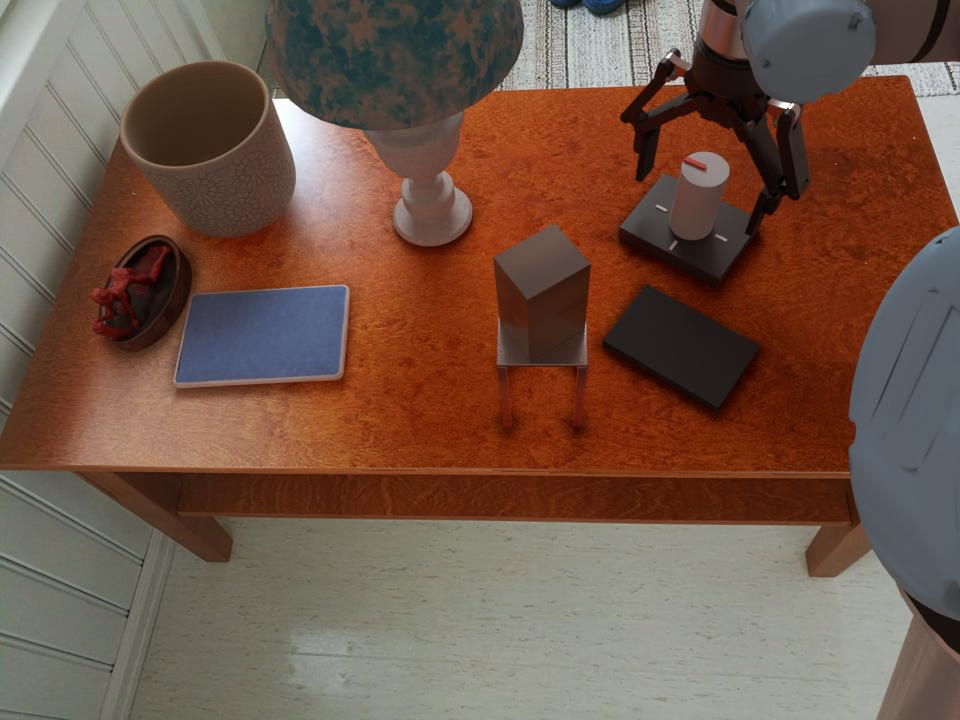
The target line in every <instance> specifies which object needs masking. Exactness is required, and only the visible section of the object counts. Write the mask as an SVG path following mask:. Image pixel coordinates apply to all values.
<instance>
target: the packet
mask: <svg viewBox="0 0 960 720" xmlns="http://www.w3.org/2000/svg"><path fill="white" fill-rule="evenodd" d="M492 260H493V271H494V280H495V288H496V289H495V290H496V291H495V292H496V300H497V308H498V312H499V320H500V323H501V325H502V326H503V327H504V329H505V330H506V331H507V333H508V334H509V335H510V337H511V338H512V339H513V341H514V342H515V343H516V345H517V346H518V347H519V349H520V350H521V351H522V353H523V354H524V355H525V356H526V358H527V359H528V360H529V362H530V361H532V360H533V359H535V358H537V357H539V356H540V355H542V354H544V353H545V352H547V351H549V350H551V349H552V348H554V347H556V346H557V345H559V344H561V343H562V342H564V341H566V340H568V339H569V338H571V337H573V336H574V335H576V334H578V333H579V332H581V331H583V330H585V324H586V325H587V314H588V313H587V311H588V303H589V302H588V301H589V291H590V281H591V280H590V279H591V272H592V271H591V269H592V263H591V262H590V261H589V260H588V259H587V258H586V256H585V255H584V254H583V253H582V252H581V250H580V249H578V247H577V246H576V245H575V244H574V243H573V241H572V240H571V239H570V238H569V237H568V236H567V235H566V234H565V232H564V231H563V230H562V229H561V227H559V225H558V224H557V223H556V222H554V223H553V224H550V225H549V226H547V227H545V228H543V229H541V230H540V231H538V232H535V233H534V234H532V235H530V236H529V237H526V238H525V239H523V240H521V241H519V242H518V243H515V244H514V245H512V246H511V247H508V248H506V249H505V250H503V251H501V252H499V253H498V254H496V255H494V256H493V257H492Z"/></svg>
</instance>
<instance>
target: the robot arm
mask: <svg viewBox="0 0 960 720" xmlns="http://www.w3.org/2000/svg"><path fill="white" fill-rule="evenodd" d="M930 63H933V64H934V63H960V0H703V3H702V9H701V12H700V17H699V21H698V31H697V33H696V37H695V41H694V46H693V51H692V56H691V60H690V62H688V61H687V60H684V59H682V52H681V50H680V49H679V48H677V47H672V48H671V49H669V51H668V52H667V53H666V54H665V55H664V56H663V58H662V59H661V60H660V61H659V62H658V63H657V65H656V67H655V71H654V75H653V78H651V80H650V82H649V83H647V85H646V86H644V88H643V89H642V90H641V91H640V93H639V94H637V96H635V98H634V99H633V100H632V102H630V104H629V105H627V107H626V108H625V109H624V110H623V111H622V113H620V115H619V120H620V121H621V122H622V123H623V124H626V125H627V124H630V125H631V126H632V127H633V131H634V138H633V145H632V150H633V152H634V153H635V154H637V155H638V159H637V166H636V171H635V172H636V173H635V179H634V180H635V181H636V182H638V183H642V182H643V181H644V180H645V179H646V178H647V176H649V174H650V173H651V172H652V170H653V169H654V166H655V162H656V155H657V151H658V145H659V140H660V134H661V129H662V126H663V125H665V124H668V123H670V122H671V121H674V120H676V119H677V118H680V117H682V118H684V117H686V116H688V115H691V114H692V113H695V112H697V113H698V114H699V115H700V118H701V119H703V120H706V121H708V122H714V123H716V124H717V125H718V126H720V127H721V128H724V129H725V130H729V131H730V130H731V129H732V131H733V132H734V134H735V136H736V138H737V140H738V142H739V143H743V144H744V146H745V148H746V150H747V151H748V153H749V155H750V158H751V160H752V162H753V164H754V165H755V168H756V170H757V172H758V173H759V175H760V178H761V180H762V182H763V184H764V186H763V188H762V189H761V190H760V192H759V194H758V196H757V199H756V202H755V204H754V207H753V210H752V212H751V217H750V220H749V223H748V225H747V228H746V231H745V234H747V235H749V236H752V234H753V233H754V231H755V230H756V229H757V227H758V226H759V225H760V223H761V222H763V221H764V218H765V216H766V215H767V216H769V217H772V216H773V215H774V214H775V212H776V211H777V210H778V208H779V207H780V205H782V201H783V199H784V197H785V196H787V197H788V199H790V200H791V201H794V202H795V201H796V202H797V201H799V200H800V198H801V197H802V196H803V194H804V193H805V192H806V191H807V189H808V188H809V186H810V184H811V183H812V177H811V172H810V166H809V161H808V160H809V159H808V154H807V149H806V143H805V137H804V130H803V126H802V121H801V120H802V116H803V113H804V109H805V104H812V103H815V102H817V101H818V100H819V99H820V98H823V97H826V96H828V95H835V96H836V95H837V94H839V93H841V92H842V91H843V92H844V90H846V89H847V88H849V87H850V86H851V85H853V84H854V82H856V81H857V80H858V79H859V78H860V77H861V76H862V75H863V74H864V72H865V71H866V70H867V69H868V67H871V66H872V67H874V66H894V65H906V64H909V65H910V64H930ZM678 78H682V79H683V84H684V86H685V88H686V90H687V91H685V92H683V93H681V94H679V95H677V96H676V97H673V98H672V99H670V100H667V101H666V102H664V103H662V104H659V105H658V106H656V107H654V108H652V107H650V108H649V109H648V110H647V111H645V110H644V109H643V108H645V106H646V105H647V104H648V103H649V102H650V101H651V100H652V98H654V97H655V96H656V95H657V94H658V93H659V91H660V90H661V89H662V88H663V87H664V86H665V85H666V83H671V82H675V81H676V80H677V79H678ZM767 114H769V115H770V116H771V119H772V124H771V126H772V128H774V129H776V130H775V138H776V141H775V139H774V136H773V135H772V133H771V130H770V128H769V126H768V116H767ZM761 224H762V223H761ZM760 226H761V225H760ZM862 343H863V344H862V347H861V350H860V352H859V357H858V360H857V362H856V363H857V364H856V368H855V372H854V377H853V381H852V386H851V392H850V399H849V406H848V407H849V408H848V415H847V416H848V419H849V421H850V422H852V423H854V425H855V434H854V435H855V436H854V440H853V443H852V444H851V445H850V446H849V447H848V451H847V452H848V468H849V474H850V475H849V476H850V484H851V489H852V490H851V491H852V495H853V498H854V504H855V506H856V511H857V514H858V517H859V520H860V524H861V526H862V529H863V531H864V533H865V536H866V539H867V540H868V542H869V545H870V546H871V548H872V550H873V553H874V554H875V556H876V558H877V559H878V561H879V562H880V564H881V565H882V567H883V569H885V571H886V572H887V573H888V575H889V576H890V577H891V579H892V580H893V581H894V583H895V585H896V587H897V589H898V590H897V591H898V592H899V594H900V596H901V598H902V599H903V601H904V603H905V604H906V606H907V608H908V609H909V612H911V614H912V618H911V621H910V624H909V627H908V629H907V632H906V635H905V638H904V640H903V643H902V645H901V649H900V651H899V655H898V657H897V660H896V663H895V666H894V668H893V672H892V674H891V677H890V680H889V683H888V685H887V688H886V691H885V694H884V695H883V696H884V697H883V699H882V701H881V705H880V708H879V710H878V713H877V716H876V719H875V720H960V224H958V225H956V226H954V227H951V228H948V229H947V230H946V231H944V232H942V233H941V234H938V235H936V236H935V237H934V238H933V239H932V240H930V241H929V242H928V243H927V244H926V245H924V247H923V248H921V250H920V251H918V253H916V255H915V256H914V257H912V259H911V260H910V261H909V262H908V264H907V265H906V266H905V267H903V270H901V272H900V274H898V276H897V277H896V279H895V280H894V282H893V283H892V284H891V286H890V288H888V290H887V292H886V294H885V295H884V297H883V299H882V301H881V303H880V305H879V307H878V308H877V310H876V313H875V314H874V317H873V318H872V321H871V322H870V326H869V327H868V330H867V333H866V335H865V338H864V340H863V342H862Z"/></svg>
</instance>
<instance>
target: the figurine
mask: <svg viewBox="0 0 960 720" xmlns="http://www.w3.org/2000/svg"><path fill="white" fill-rule="evenodd" d="M192 284H193V269H192V264H191V261H190V260H189V258H188V256H187V255H185V253H184V252H183V251H182V250H181V248H179V246H178V244H177V243H176V241H174V239H173V238H171V237H170V236H168V235H165V234H160V233H159V234H158V233H157V234H151V235H148V236H146V237H143V238H142V239H140V240H138V241H137V242H136V243H134V244H133V245H132V246H131V247H129V248H128V249H127V251H125V252H124V253H123V254H122V256H121V257H120V258H119V260H118V261H117V263H116V264H115V265H114V267H113V268H112V269H111V271H110V273H109V275H108V277H107V279H106V280H105V283H104V286H103V288H102V287H94V288H93V291H92V293H91V298H92V301H93V302H94V303H96V304H98V309H97V317H94V318H93V322H92V323H91V327H90V328H91V329H92V330H93V333H94V334H96V335H99V336H102V337H104V338H105V339H106V340H107V341H108V342H110V343H112V344H113V345H115V346H116V348H118V349H119V350H121V351H123V352H128V353H137V352H141V351H143V350H146V349H148V348H149V347H151V346H153V345H154V344H156V343H158V342H159V341H160V340H161V339H162V338H163V337H164V336H165V335H166V334H168V332H169V331H170V330H171V329H172V327H174V325H175V324H176V323H177V322H178V320H179V318H180V316H181V315H182V313H183V311H184V309H185V307H186V306H187V304H188V301H189V299H190V298H189V297H190V294H191V290H192Z"/></svg>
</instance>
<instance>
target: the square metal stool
mask: <svg viewBox="0 0 960 720" xmlns="http://www.w3.org/2000/svg"><path fill="white" fill-rule="evenodd" d="M497 316H498V317H497V340H496V341H497V342H496V345H497V346H496V371H497V378H498V388H499V394H500V404H501V411H502V412H501V413H502V419H503V427H504V428H511V427H512V426H513V418H512V407H511V395H510V387H509V386H510V385H509V376H508V368H577V369H576V381H575V392H574V403H573V404H574V405H573V415H572V416H573V417H572V427H573V428H582V421H583V411H584V401H585V393H586V385H587V384H586V383H587V374H588V365H589V364H588V334H587V333H588V329H587V323H586V324H585V330H583V331H581V332H579V333H578V334H576V335H574V336H573V337H571V338H569V339H568V340H566V341H564V342H562V343H561V344H559V345H557V346H556V347H554V348H552V349H551V350H549V351H547V352H545V353H544V354H542V355H540V356H539V357H537V358H535V359H533V360H532V361H530V362H529V360H528V359H527V358H526V356H525V355H524V354H523V353H522V351H521V350H520V349H519V347H518V346H517V345H516V343H515V342H514V341H513V339H512V338H511V337H510V335H509V334H508V333H507V331H506V330H505V329H504V327H503V326H502V325H501V323H500V320H499V311H498V315H497Z"/></svg>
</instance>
